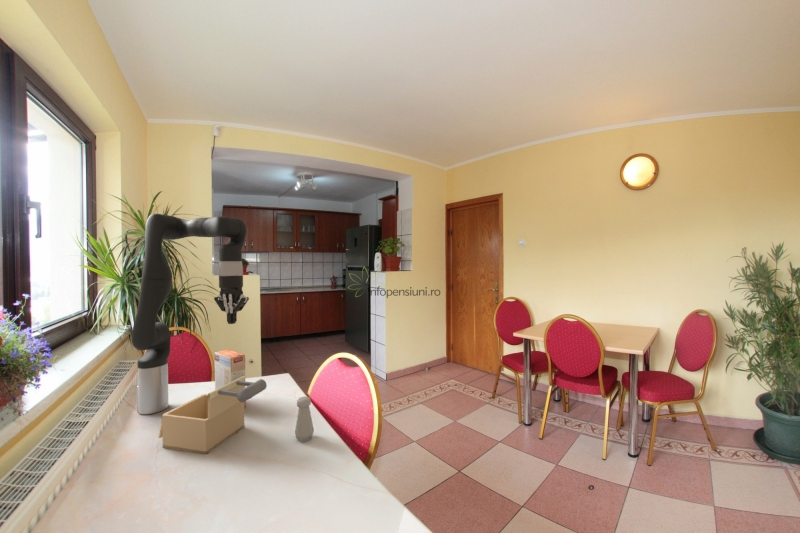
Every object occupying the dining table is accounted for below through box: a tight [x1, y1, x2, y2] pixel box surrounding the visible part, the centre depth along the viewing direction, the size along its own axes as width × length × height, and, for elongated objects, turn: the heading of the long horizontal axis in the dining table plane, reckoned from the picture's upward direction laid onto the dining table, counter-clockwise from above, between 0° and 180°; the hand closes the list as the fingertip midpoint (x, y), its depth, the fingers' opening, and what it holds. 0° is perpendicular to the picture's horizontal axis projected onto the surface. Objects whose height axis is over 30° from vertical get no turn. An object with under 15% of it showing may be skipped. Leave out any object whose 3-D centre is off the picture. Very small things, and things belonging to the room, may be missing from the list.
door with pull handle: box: [207, 375, 268, 420], centre depth 101 cm, size 9×15×11 cm
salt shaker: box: [294, 396, 315, 443], centre depth 103 cm, size 6×6×13 cm
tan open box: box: [158, 393, 245, 455], centre depth 105 cm, size 18×16×10 cm
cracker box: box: [214, 349, 247, 409], centre depth 127 cm, size 14×6×21 cm, turn 52°
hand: (231, 323), depth 113 cm, fingers closed
